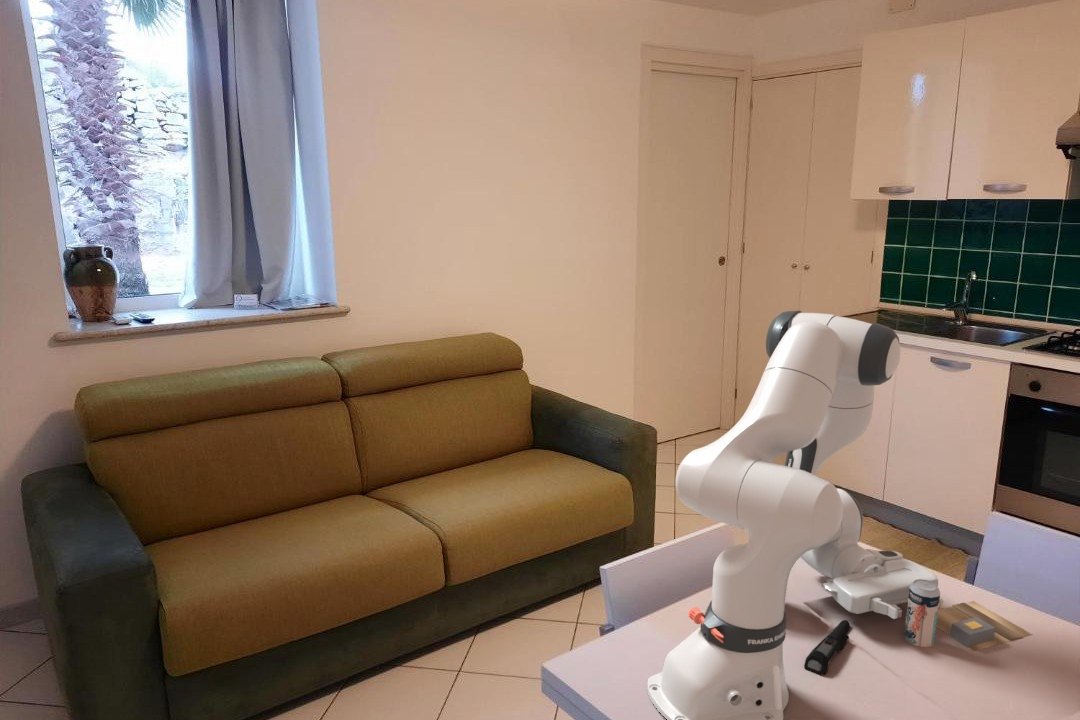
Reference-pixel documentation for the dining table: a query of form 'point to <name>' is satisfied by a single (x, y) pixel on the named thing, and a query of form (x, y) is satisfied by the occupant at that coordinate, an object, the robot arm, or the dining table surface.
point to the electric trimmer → (827, 649)
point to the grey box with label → (972, 631)
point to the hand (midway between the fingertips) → (919, 609)
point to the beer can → (922, 613)
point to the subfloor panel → (972, 610)
